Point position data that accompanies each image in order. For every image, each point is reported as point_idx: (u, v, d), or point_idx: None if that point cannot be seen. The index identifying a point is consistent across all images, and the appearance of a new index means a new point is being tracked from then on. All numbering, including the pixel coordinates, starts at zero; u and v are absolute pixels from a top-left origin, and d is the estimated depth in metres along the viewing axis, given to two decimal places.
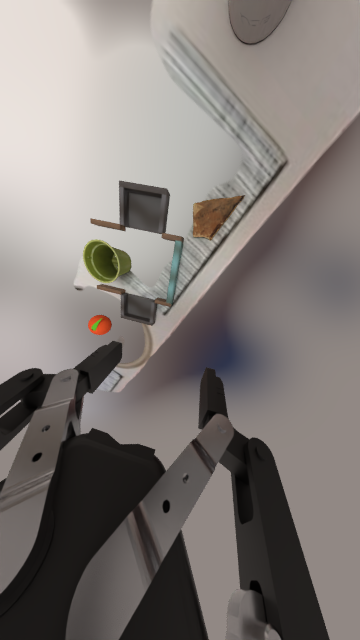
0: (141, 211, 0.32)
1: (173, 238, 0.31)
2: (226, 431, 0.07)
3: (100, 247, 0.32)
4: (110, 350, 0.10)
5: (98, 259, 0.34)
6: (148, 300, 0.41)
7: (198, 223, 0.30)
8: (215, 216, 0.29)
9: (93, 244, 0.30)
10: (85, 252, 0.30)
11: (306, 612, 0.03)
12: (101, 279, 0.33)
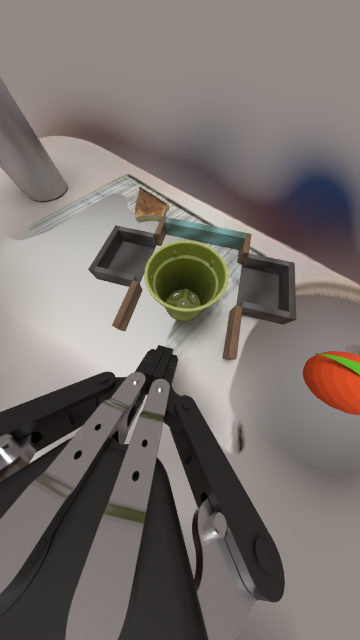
0: (126, 265, 0.25)
1: (162, 223, 0.25)
2: (162, 390, 0.08)
3: (158, 294, 0.16)
4: (160, 354, 0.11)
5: None
6: (244, 275, 0.24)
7: (152, 211, 0.29)
8: (149, 200, 0.30)
9: (152, 288, 0.15)
10: None
11: (227, 477, 0.05)
12: (220, 289, 0.14)
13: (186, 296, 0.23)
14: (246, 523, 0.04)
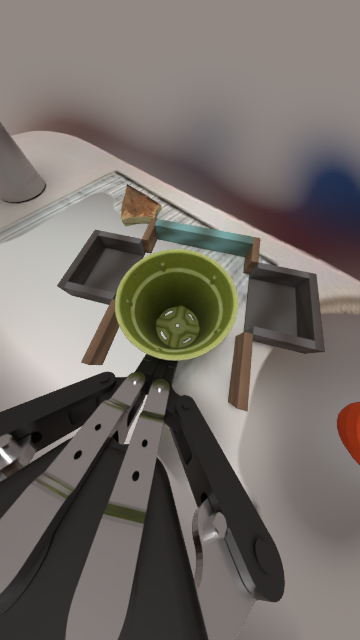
0: (108, 278, 0.21)
1: (151, 227, 0.21)
2: (162, 390, 0.08)
3: (139, 322, 0.12)
4: None
5: (167, 348, 0.12)
6: (252, 288, 0.20)
7: (141, 212, 0.24)
8: (138, 200, 0.26)
9: (128, 319, 0.10)
10: (140, 346, 0.09)
11: (227, 477, 0.05)
12: (226, 320, 0.10)
13: (180, 316, 0.18)
14: (246, 523, 0.04)
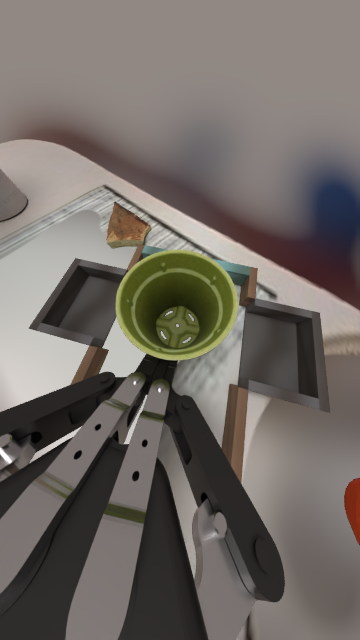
0: (90, 311, 0.19)
1: (138, 255, 0.19)
2: (162, 390, 0.08)
3: (139, 322, 0.12)
4: None
5: (167, 348, 0.12)
6: (249, 324, 0.18)
7: (128, 234, 0.22)
8: (126, 220, 0.24)
9: (128, 319, 0.10)
10: (141, 346, 0.09)
11: (227, 478, 0.05)
12: (226, 321, 0.10)
13: (181, 316, 0.18)
14: (246, 523, 0.04)
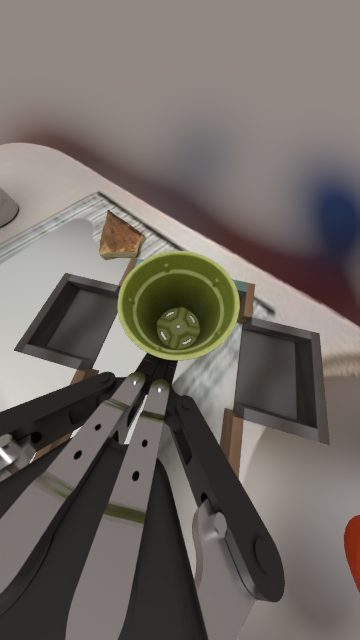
0: (81, 328, 0.18)
1: (131, 269, 0.18)
2: (162, 390, 0.08)
3: (140, 321, 0.12)
4: None
5: None
6: (245, 343, 0.17)
7: (122, 246, 0.21)
8: (119, 230, 0.23)
9: (129, 317, 0.10)
10: (141, 344, 0.09)
11: (227, 477, 0.05)
12: (227, 323, 0.10)
13: (181, 317, 0.18)
14: (246, 523, 0.04)
